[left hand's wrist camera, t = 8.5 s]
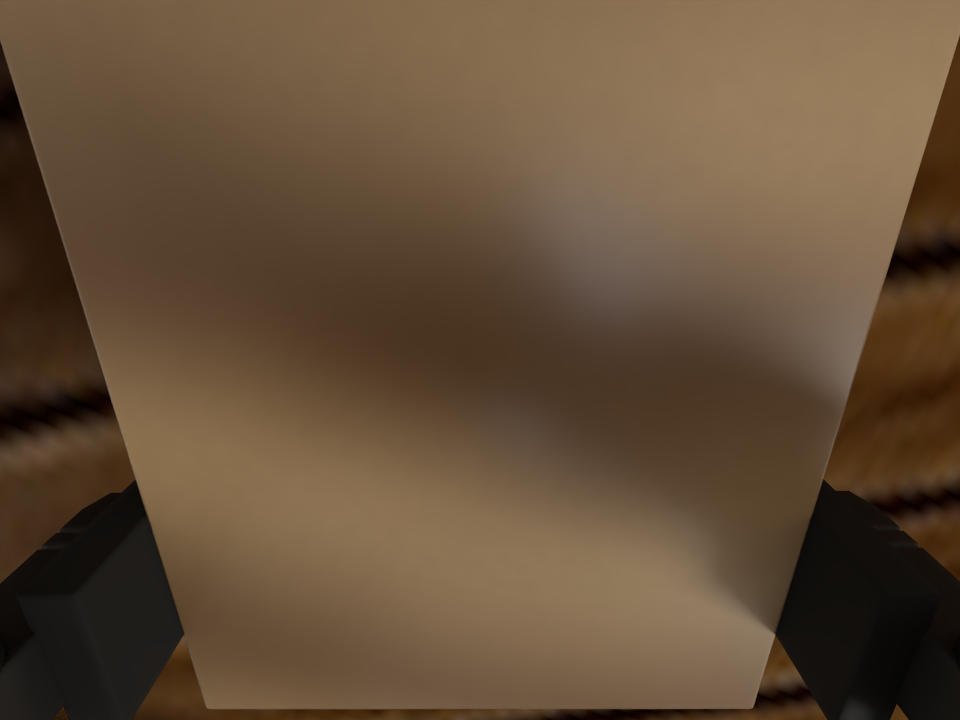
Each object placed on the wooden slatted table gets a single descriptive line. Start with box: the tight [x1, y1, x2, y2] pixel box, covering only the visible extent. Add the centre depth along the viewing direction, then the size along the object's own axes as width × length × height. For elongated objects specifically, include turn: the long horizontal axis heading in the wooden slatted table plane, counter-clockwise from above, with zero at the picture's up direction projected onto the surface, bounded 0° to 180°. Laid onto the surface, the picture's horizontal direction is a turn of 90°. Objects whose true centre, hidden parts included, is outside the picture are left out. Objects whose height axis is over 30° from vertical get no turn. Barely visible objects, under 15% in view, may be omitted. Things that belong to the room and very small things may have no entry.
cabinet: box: [0, 0, 960, 709], centre depth 11 cm, size 16×11×8 cm, turn 0°
